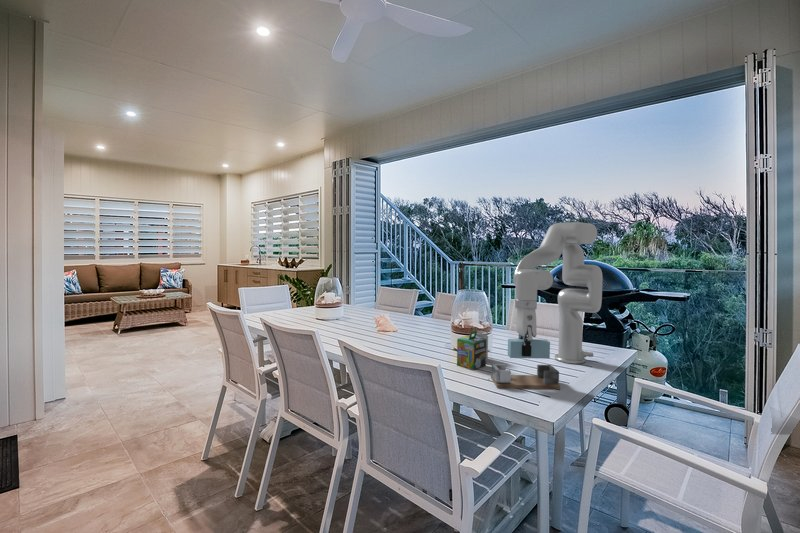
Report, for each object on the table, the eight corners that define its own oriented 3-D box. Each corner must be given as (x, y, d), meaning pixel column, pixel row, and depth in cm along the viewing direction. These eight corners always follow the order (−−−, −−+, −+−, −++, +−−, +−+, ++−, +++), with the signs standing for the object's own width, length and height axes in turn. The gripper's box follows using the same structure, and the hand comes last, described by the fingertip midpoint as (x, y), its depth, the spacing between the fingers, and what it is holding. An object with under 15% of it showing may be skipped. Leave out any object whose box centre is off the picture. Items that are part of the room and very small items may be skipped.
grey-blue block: (545, 355, 146) (546, 339, 146) (549, 358, 142) (550, 342, 142) (507, 354, 147) (508, 338, 146) (510, 357, 143) (510, 341, 142)
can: (486, 356, 180) (487, 330, 179) (488, 361, 172) (489, 334, 172) (469, 356, 181) (470, 330, 180) (471, 360, 173) (471, 333, 172)
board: (549, 378, 150) (549, 363, 150) (560, 389, 139) (560, 373, 139) (490, 377, 151) (491, 362, 151) (497, 388, 140) (497, 372, 140)
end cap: (504, 375, 150) (505, 364, 149) (510, 382, 141) (510, 371, 141) (491, 374, 150) (491, 364, 149) (496, 382, 141) (496, 371, 141)
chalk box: (468, 361, 173) (469, 327, 172) (486, 365, 167) (487, 330, 166) (455, 365, 167) (456, 330, 166) (474, 370, 160) (474, 334, 159)
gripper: (544, 308, 135) (542, 361, 136) (529, 301, 152) (527, 348, 153) (521, 307, 135) (520, 360, 136) (509, 301, 152) (508, 348, 153)
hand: (524, 353), depth 145 cm, fingers closed on grey-blue block, 4 cm apart
